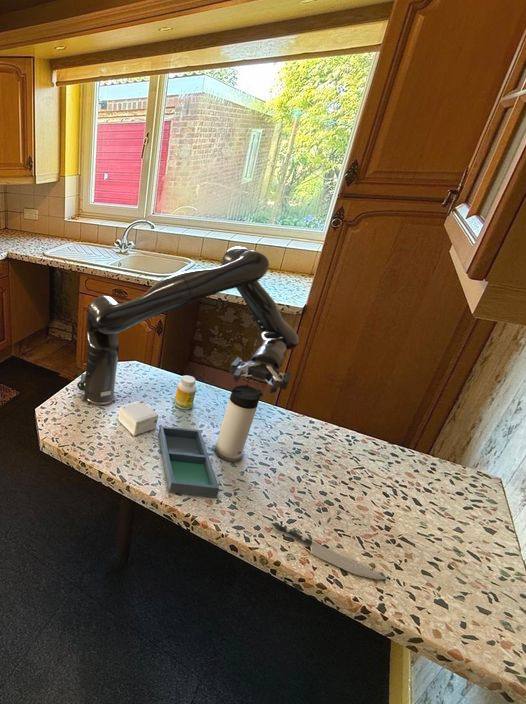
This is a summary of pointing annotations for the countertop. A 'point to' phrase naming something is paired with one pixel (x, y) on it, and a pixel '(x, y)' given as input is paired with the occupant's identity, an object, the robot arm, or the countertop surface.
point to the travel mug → (237, 422)
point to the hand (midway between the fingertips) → (253, 384)
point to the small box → (138, 417)
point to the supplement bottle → (185, 392)
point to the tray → (187, 462)
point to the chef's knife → (333, 556)
